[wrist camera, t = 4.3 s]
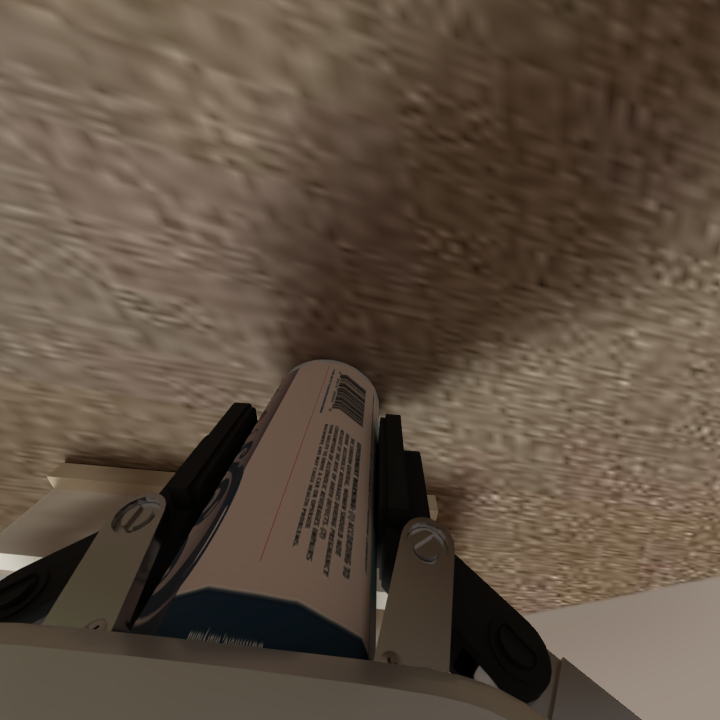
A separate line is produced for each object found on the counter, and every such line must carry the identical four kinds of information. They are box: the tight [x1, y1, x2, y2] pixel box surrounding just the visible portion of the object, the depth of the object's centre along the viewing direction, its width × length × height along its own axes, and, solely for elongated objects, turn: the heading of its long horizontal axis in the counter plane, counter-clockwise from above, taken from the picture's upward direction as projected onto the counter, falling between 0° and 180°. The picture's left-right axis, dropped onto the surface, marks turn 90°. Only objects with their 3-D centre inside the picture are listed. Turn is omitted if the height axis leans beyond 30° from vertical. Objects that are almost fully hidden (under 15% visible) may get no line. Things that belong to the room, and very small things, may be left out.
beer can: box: [129, 359, 379, 661], centre depth 8 cm, size 5×5×12 cm
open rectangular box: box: [0, 463, 438, 647], centre depth 17 cm, size 22×12×4 cm, turn 87°
